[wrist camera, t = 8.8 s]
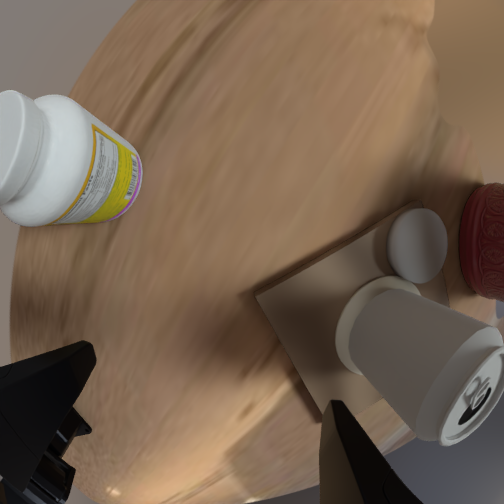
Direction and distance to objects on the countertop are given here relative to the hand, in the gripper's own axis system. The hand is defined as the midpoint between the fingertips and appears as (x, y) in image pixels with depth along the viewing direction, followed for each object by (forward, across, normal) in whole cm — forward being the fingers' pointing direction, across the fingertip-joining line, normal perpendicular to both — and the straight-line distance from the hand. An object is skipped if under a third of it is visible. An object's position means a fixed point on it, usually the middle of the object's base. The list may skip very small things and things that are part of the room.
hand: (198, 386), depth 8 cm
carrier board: (+14, -11, +4) cm, 18 cm away
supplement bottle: (+11, +12, -5) cm, 17 cm away
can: (+12, -12, +4) cm, 17 cm away
